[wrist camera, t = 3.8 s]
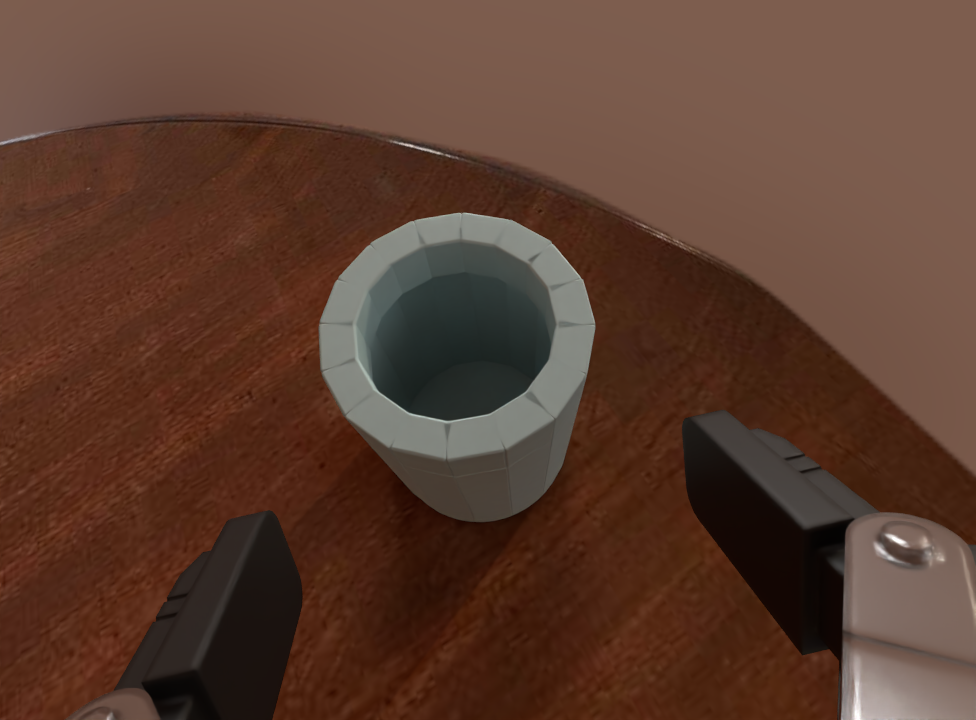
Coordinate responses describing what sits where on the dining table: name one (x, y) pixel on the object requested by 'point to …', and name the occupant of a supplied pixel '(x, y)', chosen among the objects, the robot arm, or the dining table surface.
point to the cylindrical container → (461, 359)
